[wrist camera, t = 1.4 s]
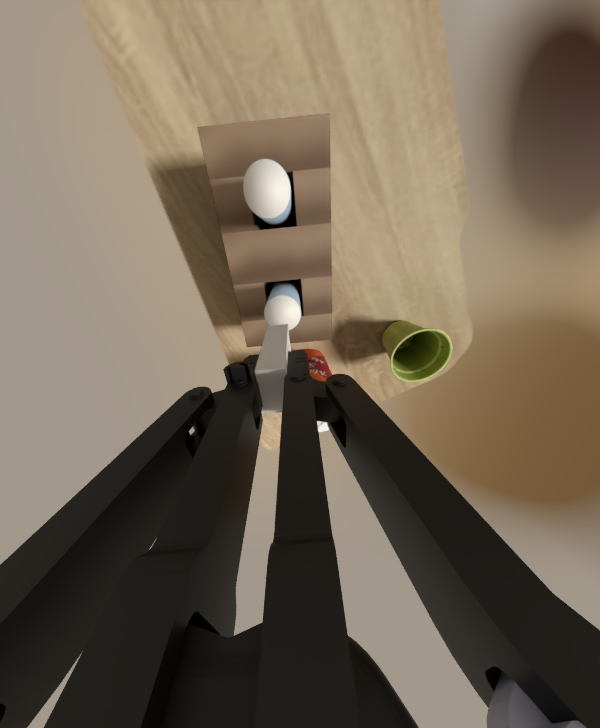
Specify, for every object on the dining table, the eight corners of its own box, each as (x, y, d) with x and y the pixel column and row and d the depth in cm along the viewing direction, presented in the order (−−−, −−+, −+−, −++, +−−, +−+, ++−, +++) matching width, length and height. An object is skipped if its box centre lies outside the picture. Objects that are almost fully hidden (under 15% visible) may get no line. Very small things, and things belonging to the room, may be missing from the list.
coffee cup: (315, 335, 41) (326, 379, 28) (338, 365, 44) (357, 417, 31) (280, 359, 43) (275, 410, 30) (304, 386, 46) (310, 443, 33)
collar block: (226, 162, 28) (197, 127, 20) (318, 152, 28) (329, 113, 19) (257, 323, 39) (246, 347, 30) (323, 317, 39) (332, 339, 30)
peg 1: (256, 188, 25) (237, 160, 16) (289, 185, 25) (288, 155, 16) (262, 227, 27) (248, 221, 18) (292, 224, 27) (293, 216, 18)
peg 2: (269, 280, 30) (260, 296, 21) (297, 277, 30) (299, 293, 21) (273, 307, 32) (267, 333, 23) (299, 305, 32) (302, 329, 23)
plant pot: (421, 352, 43) (448, 375, 36) (374, 362, 44) (391, 387, 36) (424, 306, 39) (456, 322, 31) (371, 318, 39) (390, 336, 32)
